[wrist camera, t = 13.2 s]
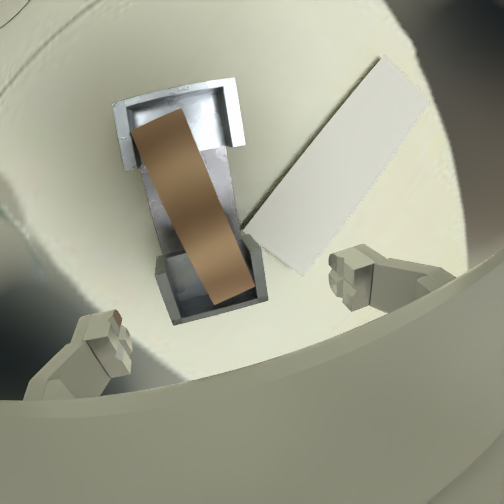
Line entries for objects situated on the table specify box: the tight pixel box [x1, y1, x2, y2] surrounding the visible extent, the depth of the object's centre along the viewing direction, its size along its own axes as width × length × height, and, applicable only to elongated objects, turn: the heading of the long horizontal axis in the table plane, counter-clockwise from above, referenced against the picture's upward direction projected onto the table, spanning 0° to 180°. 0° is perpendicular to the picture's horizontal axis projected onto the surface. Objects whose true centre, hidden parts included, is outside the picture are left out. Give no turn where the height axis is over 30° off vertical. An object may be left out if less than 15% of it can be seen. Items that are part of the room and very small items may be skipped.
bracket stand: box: [112, 78, 268, 326], centre depth 27 cm, size 21×10×12 cm, turn 9°
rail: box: [130, 108, 255, 305], centre depth 22 cm, size 16×4×4 cm, turn 21°
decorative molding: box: [242, 55, 430, 276], centre depth 35 cm, size 34×5×10 cm
